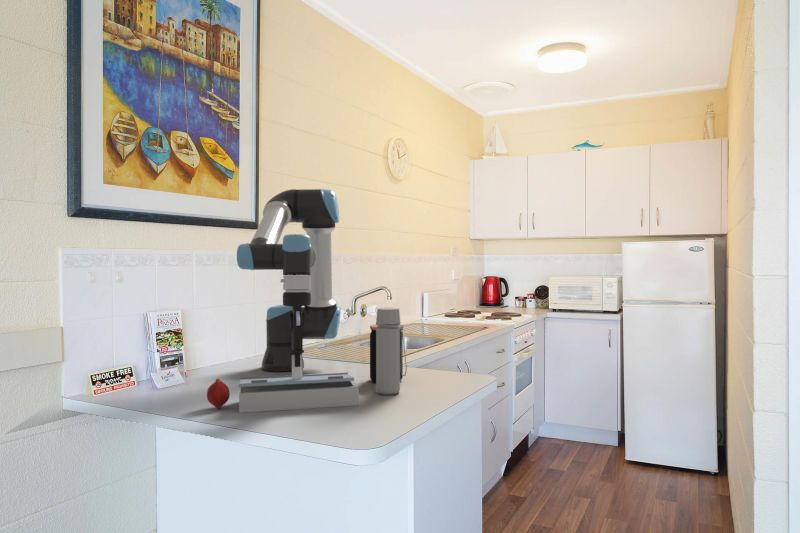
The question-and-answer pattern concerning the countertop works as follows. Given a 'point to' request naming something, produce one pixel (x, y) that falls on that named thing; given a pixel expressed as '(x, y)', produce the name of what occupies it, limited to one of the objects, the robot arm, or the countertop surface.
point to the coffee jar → (373, 353)
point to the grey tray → (298, 396)
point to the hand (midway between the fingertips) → (297, 377)
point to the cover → (288, 379)
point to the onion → (218, 393)
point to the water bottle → (388, 351)
